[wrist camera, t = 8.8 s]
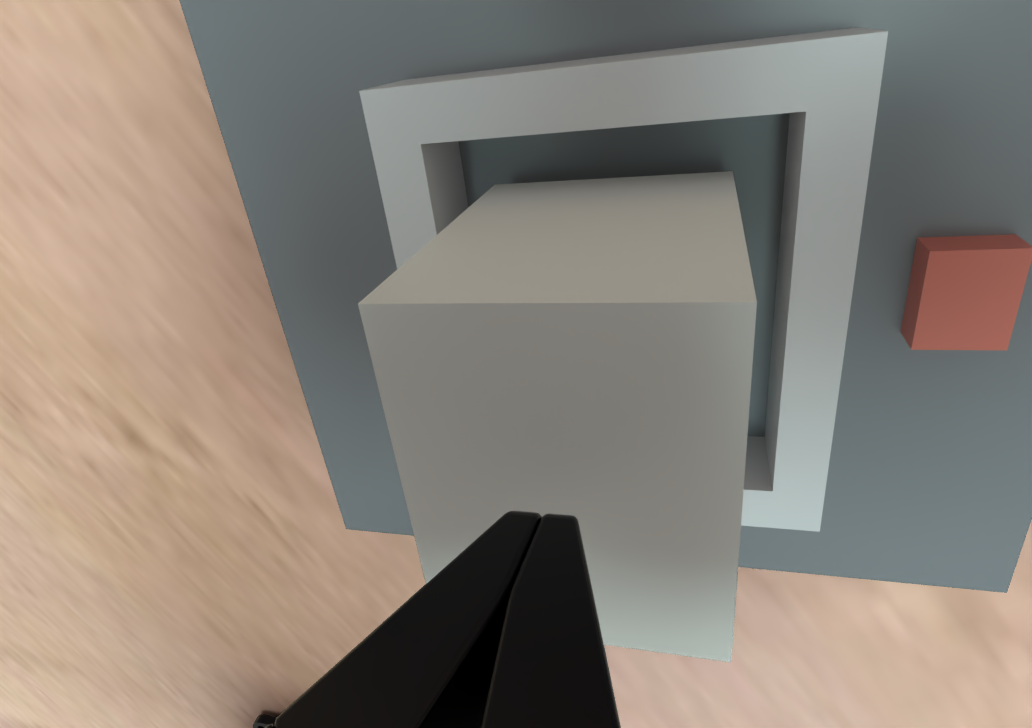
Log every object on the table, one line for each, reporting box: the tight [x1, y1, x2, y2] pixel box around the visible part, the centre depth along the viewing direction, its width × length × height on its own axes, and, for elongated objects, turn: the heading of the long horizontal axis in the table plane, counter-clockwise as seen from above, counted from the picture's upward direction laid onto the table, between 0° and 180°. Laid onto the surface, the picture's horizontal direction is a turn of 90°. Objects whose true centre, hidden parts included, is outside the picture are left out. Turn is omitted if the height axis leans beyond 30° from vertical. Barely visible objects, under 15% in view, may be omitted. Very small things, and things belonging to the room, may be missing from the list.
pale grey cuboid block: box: [358, 171, 757, 662], centre depth 11 cm, size 4×6×7 cm
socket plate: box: [180, 0, 1032, 593], centre depth 14 cm, size 18×16×4 cm
